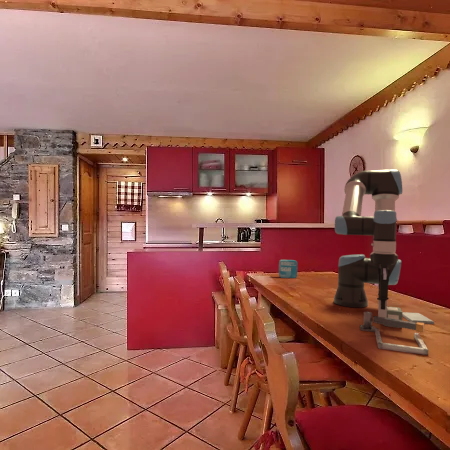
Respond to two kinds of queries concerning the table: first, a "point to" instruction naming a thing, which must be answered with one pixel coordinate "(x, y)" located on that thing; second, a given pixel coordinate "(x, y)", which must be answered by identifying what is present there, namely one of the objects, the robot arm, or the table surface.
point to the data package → (288, 268)
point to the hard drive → (416, 318)
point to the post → (367, 323)
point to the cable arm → (399, 323)
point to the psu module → (394, 314)
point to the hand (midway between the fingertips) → (382, 317)
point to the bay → (402, 348)
